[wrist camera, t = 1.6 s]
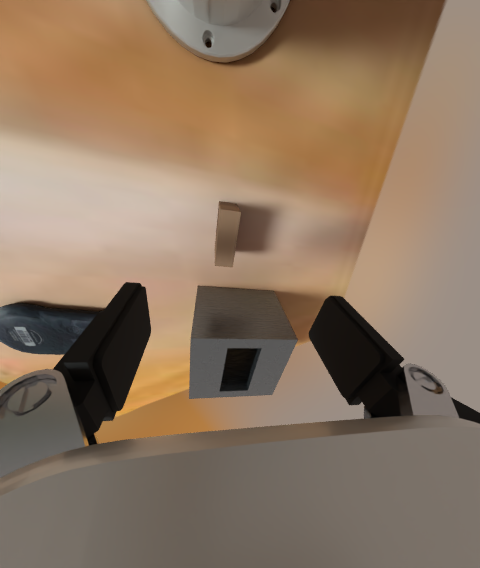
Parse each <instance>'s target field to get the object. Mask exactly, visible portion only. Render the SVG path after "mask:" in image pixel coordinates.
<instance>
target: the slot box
mask: <svg viewBox="0 0 480 568" xmlns="http://www.w3.org/2000/svg"><path fill="white" fill-rule="evenodd" d="M297 341H298V339H297V337H296V335H295V333H294V331H293V329H292V327H291V325H290V323H289V321H288V319H287V317H286V315H285V313H284V311H283V309H282V307H281V305H280V303H279V300H278V298H277V296H276V294H275V292H274V291H268V290H252V289H237V288H222V287H207V286H198V288H197V296H196V303H195V311H194V318H193V325H192V333H191V348H190V387H189V390H190V391H189V399H194V398H213V397H236V396H257V395H272V394H273V392H274V390H275V387H276V385H277V383H278V381H279V379H280V377H281V375H282V373H283V370H284V368H285V366H286V364H287V362H288V360H289V358H290V355H291V353H292V351H293V349H294V347H295V345H296V343H297Z"/></svg>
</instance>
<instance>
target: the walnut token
mask: <svg viewBox="0 0 480 568" xmlns="http://www.w3.org/2000/svg"><path fill="white" fill-rule="evenodd" d="M240 216H241V211H240V210H239V208H238V206H237V205H236V204H233V203H227V202H220V201H219V208H218V219H217V230H216V241H215V266H223V267H233V262H234V255H235V249H236V242H237V236H238V229H239V223H240Z"/></svg>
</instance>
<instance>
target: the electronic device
mask: <svg viewBox="0 0 480 568" xmlns="http://www.w3.org/2000/svg"><path fill="white" fill-rule="evenodd" d="M98 313H99V312H94V311H84V310H71V309H54V308H53V309H50V308H45V307H43V306H37V305H28V304H24V303H17V304H16V303H15V304H9V305H5V306H2V307H0V342H2V343H4V344H5V345H7V346H9V347H11V348H13V349H16V350H19V351H21V352H26V353H32V354H55V355H61V354H66V352H67V351H68V350H69V349H70V347H71V346H72V345H73V344H74V342H75V341H76V340H77V339H78V337H79V336H80V335H81V334H82V332H83V331H84V330H85V329H86V327H87V326H88V325H89V323H90V322H91V321H92V320H93V318H94V317H95V316H96V315H97V314H98Z"/></svg>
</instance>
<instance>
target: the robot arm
mask: <svg viewBox="0 0 480 568" xmlns="http://www.w3.org/2000/svg"><path fill="white" fill-rule="evenodd" d="M146 1H147V3H148V5H149V7H150V8H151V10H152V12H153V14H154V15H155V16H156V18H157V19H158V20H159V21H160V23H161V24H162V25H163V27H164V28H165V29H166V31H167V32H168V33H169V34H170V35H171V36H172V37H173V38H174V39H175V40H176V41H177V42H178V43H179V44H180V45H181V46H182V47H184V48H186V49H187V50H189V51H190V52H192V53H193V54H195V55H196V56H198V57H201V58H204V59H207V60H209V61H214V62H231V61H236V60H240V59H242V58H244V57H246V56H248V55H250V54H252V53H253V52H254V51H256V50H257V49H258V48H259V47H260V46H261V45H262V44H264V43H265V42H266V40H267V39H268V38H269V36H270V35H271V34H272V33H273V31H274V30H275V29H276V27H277V25H278V24H279V22H280V20H281V18H282V16H283V14H284V12H285V10H286V9H287V6H288V4H289V2H290V0H146ZM271 7H273V8H274V9H275V13H274V12H273V11H272V10H271ZM207 41H209V42H210V43H211V45H212V46H211V48H207V47H206V45H205V44H206V42H207ZM150 334H151V324H150V317H149V309H148V302H147V294H146V288H145V287H142V286H141V284H140V283H129V282H126V283H125V284H124V285H123V286H122V287H121V289H120V290H119V291H118V293H117V294H116V295H115V297H114V298H113V299H112V300H111V302H110V303H109V304H108V306H107V307H106V308H105V310H104V311H100V312H99V313H98V314H97V315H96V316H95V317H94V318H93V320H92V321H91V322H90V323H89V325H88V326H87V327H86V329H85V330H84V331H83V332H82V334H81V335H80V336H79V337H78V339H77V340H76V341H75V342H74V344H73V345H72V346H71V347H70V349H69V350H68V351H67V352H66V354H65V355H64V356H63V357H62V359H61V360H60V361H59V362H58V364H57V365H56V366H55V367H54V369H53V370H52V369H44V370H38V371H34V372H31V373H29V374H26V375H23V376H21V377H19V378H17V379H16V380H14V381H12V382H10V383H9V384H8V385H6V386H5V387H3V388H2V389H1V390H0V568H480V413H479V412H477V411H475V410H473V409H471V408H470V407H468V406H466V405H464V404H462V403H460V402H459V401H457V400H455V399H453V398H451V397H450V394H449V392H448V390H447V388H446V387H445V385H444V384H443V383H442V382H441V381H440V380H439V379H438V378H437V377H436V376H435V375H433V374H432V373H431V372H429V371H428V370H426V369H424V368H422V367H420V366H418V365H415V364H406V365H405V366H404V367H403V368H402V367H401V366H400V365H399V364H400V363H401V362H402V361H403V360H404V358H403V357H402V356H401V355H400V354H399V353H398V352H397V351H396V350H395V349H394V348H393V347H392V346H391V345H390V344H388V342H387V341H386V340H385V339H384V338H383V337H382V336H381V335H380V334H379V333H378V332H377V331H376V330H375V329H374V328H373V327H372V326H371V325H370V324H369V323H368V322H367V321H366V320H365V319H364V318H363V317H362V316H361V315H360V314H359V313H358V312H357V311H356V310H355V309H354V308H353V307H352V306H351V305H350V304H349V303H348V302H347V301H346V300H345V299H344V298H343V297H341V296H329V297H328V298H327V299H326V300H325V302H324V303H323V305H322V307H321V309H320V311H319V313H318V315H317V317H316V319H315V321H314V323H313V325H312V327H311V329H310V331H309V338H310V340H311V342H312V343H313V345H314V347H315V349H316V351H317V352H318V354H319V356H320V358H321V359H322V361H323V363H324V365H325V367H326V368H327V370H328V372H329V374H330V375H331V377H332V379H333V381H334V383H335V384H336V386H337V388H338V390H339V391H340V393H341V395H342V396H343V397H344V398H345V399H346V400H347V402H348V404H349V405H359V404H360V403H361V402H363V404H364V405H365V406H364V419H355V420H340V421H328V422H315V423H303V424H291V425H279V426H266V427H255V428H243V429H231V430H220V431H208V432H198V433H186V434H175V435H166V436H157V437H147V438H138V439H128V440H120V441H115V442H108V443H101V444H99V442H98V439H97V436H96V433H95V432H97V431H98V430H99V428H100V426H101V423H102V421H110V420H111V421H112V420H113V419H114V417H115V414H116V412H117V411H120V410H121V409H122V408H123V406H124V403H125V401H126V398H127V395H128V393H129V390H130V387H131V385H132V382H133V379H134V377H135V374H136V371H137V369H138V366H139V364H140V361H141V358H142V356H143V353H144V350H145V348H146V345H147V342H148V340H149V337H150Z"/></svg>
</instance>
